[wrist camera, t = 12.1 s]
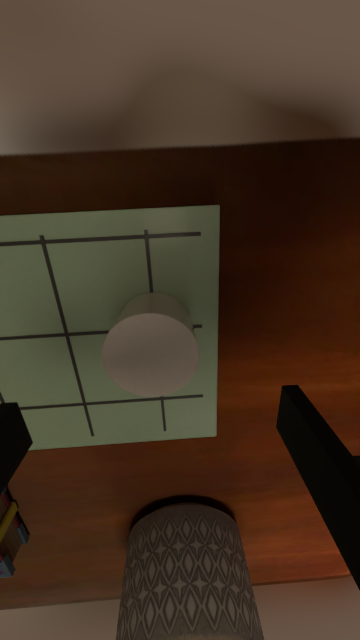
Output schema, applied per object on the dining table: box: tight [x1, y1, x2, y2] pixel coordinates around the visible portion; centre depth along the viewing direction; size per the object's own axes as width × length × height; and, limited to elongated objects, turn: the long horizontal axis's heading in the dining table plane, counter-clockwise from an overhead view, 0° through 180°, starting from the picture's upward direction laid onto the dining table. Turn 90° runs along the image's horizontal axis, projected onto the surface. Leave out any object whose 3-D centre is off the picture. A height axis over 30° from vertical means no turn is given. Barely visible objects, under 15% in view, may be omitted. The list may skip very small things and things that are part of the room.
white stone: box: [102, 293, 200, 397], centre depth 19 cm, size 7×7×5 cm
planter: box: [116, 502, 264, 640], centre depth 31 cm, size 16×16×13 cm
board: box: [0, 205, 220, 450], centre depth 23 cm, size 36×24×2 cm, turn 93°
